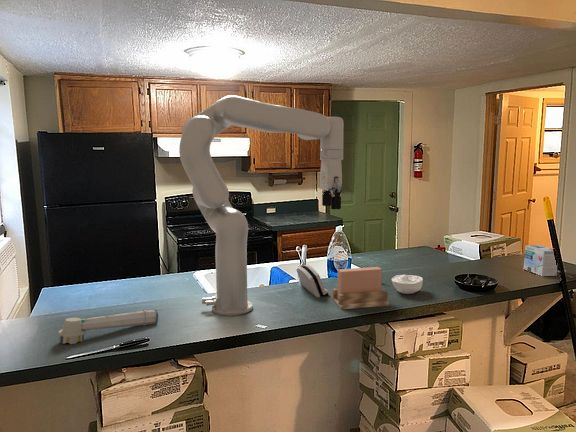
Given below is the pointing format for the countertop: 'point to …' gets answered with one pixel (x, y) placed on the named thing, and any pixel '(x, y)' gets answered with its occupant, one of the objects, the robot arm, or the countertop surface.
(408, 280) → the white bowl
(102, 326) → the beige mallet
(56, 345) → the countertop surface
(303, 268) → the grey rounded piece
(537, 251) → the light bulb box
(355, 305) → the guide track
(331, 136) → the robot arm
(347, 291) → the door panel
